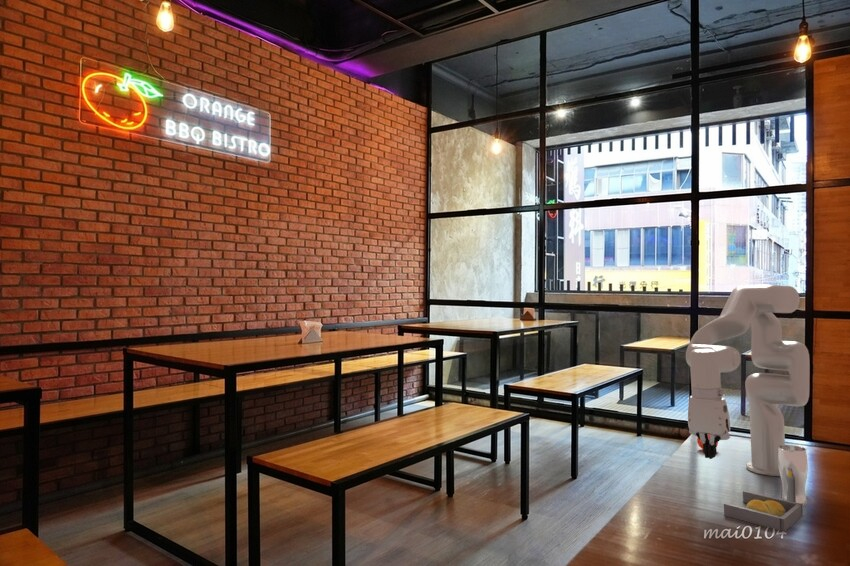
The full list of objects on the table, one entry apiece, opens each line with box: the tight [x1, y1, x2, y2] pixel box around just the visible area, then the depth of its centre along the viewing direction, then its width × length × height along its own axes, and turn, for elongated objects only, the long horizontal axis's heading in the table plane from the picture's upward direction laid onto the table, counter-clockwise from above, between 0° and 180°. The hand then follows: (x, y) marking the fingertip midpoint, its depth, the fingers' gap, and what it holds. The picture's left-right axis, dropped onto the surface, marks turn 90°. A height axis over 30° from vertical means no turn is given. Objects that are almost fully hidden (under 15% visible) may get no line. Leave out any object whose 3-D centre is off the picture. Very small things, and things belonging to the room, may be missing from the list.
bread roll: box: [745, 499, 785, 517], centre depth 145 cm, size 8×9×4 cm
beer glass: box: [778, 444, 809, 507], centre depth 154 cm, size 7×7×15 cm
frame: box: [723, 490, 804, 532], centre depth 145 cm, size 14×14×3 cm
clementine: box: [696, 434, 719, 450], centre depth 204 cm, size 8×7×7 cm
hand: (710, 457), depth 156 cm, fingers closed
